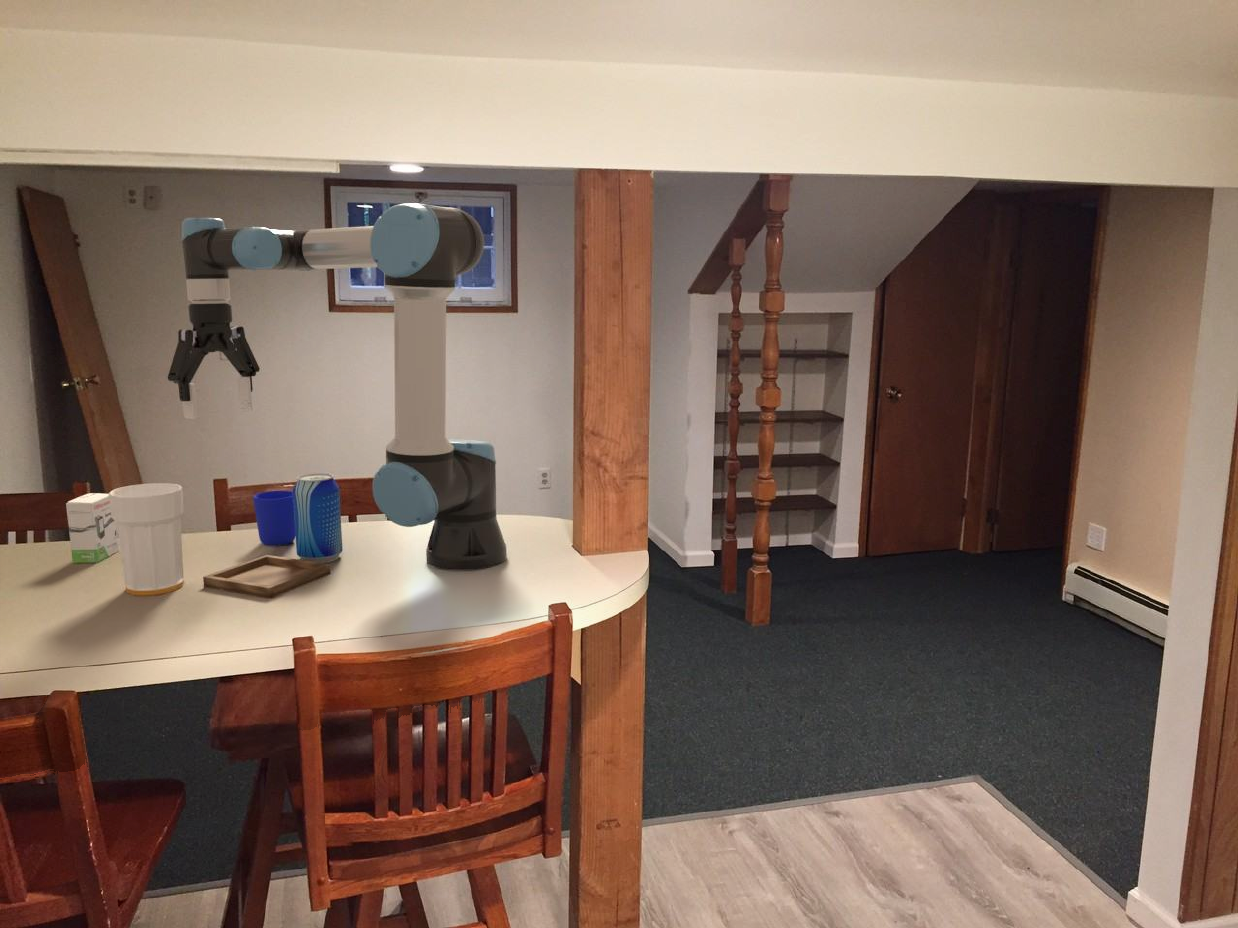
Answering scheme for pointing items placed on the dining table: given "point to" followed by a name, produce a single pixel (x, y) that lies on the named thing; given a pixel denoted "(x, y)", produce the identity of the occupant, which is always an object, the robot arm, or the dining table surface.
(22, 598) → the dining table surface
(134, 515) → the cup
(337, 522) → the beer can
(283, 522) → the mug
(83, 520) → the ink box
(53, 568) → the dining table surface
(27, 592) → the dining table surface
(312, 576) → the tray
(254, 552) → the dining table surface
